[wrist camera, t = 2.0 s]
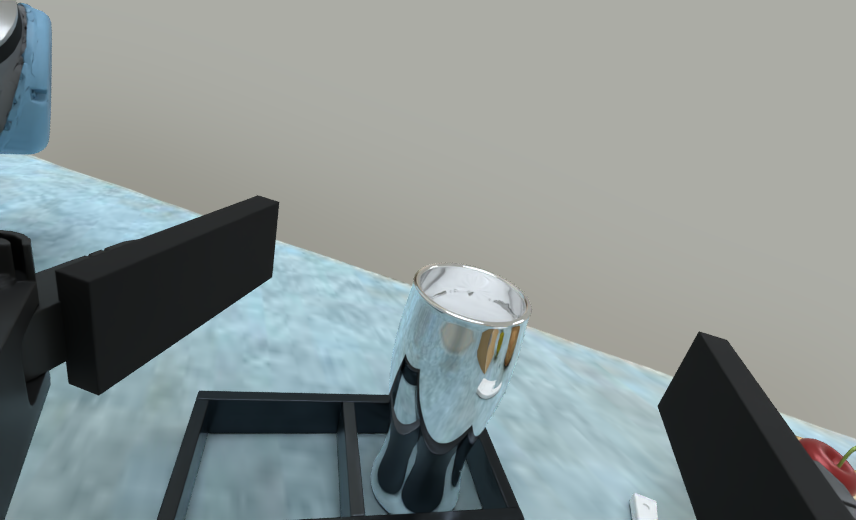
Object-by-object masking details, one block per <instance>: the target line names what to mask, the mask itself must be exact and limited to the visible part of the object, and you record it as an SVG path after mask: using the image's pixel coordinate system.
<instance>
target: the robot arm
mask: <svg viewBox="0 0 856 520" xmlns="http://www.w3.org/2000/svg"><path fill="white" fill-rule="evenodd" d="M51 53H52V30H51V21H50V18H49V17H48V16H47V15H46V14H45V13H44V12H42V11H40V10H37V9H34V8H32V7H31V6H30V5H28V4H24V3H18V4H17V2H16V0H0V154H35V153H38V152H40V151H42V150H43V149H44V148H45V147H46V146H47V144H48V142H49V135H50V116H51V72H52V69H51V68H52V67H51V66H52V65H51V62H52V54H51ZM278 209H279V202H277V201H274V200H271V199H268V198H265V197H261V196H255V197H252V198H250V199H247V200H245V201H242V202H239V203H236V204H233V205H231V206H228V207H225V208H223V209H220V210H217V211H214V212H212V213H209V214H206V215H203V216H201V217H198V218H195V219H193V220H190V221H187V222H184V223H182V224H179V225H176V226H174V227H171V228H168V229H165V230H163V231H160V232H157V233H155V234H152V235H149V236H146V237H144V238H141V239H137V240H131V241H124V242H121V243H118V244H116V245H113V246H110V247H107V248H105V250H104V251H103V250H99V251H96V252H93V253H91V254H89V256H82V257H80V258H77V259H74V260H71V261H69V262H66V263H63V264H60V265H57V266H55V267H52V268H49V269H46V270H44V271H41V272H38V273H35V268H34V261H33V254H32V247H31V240H30V238H28V237H27V236H25V235H24V234H20V233H17V232H13V231H4V230H0V520H5V517H6V514H7V511H8V508H9V505H10V502H11V499H12V496H13V493H14V490H15V487H16V484H17V482H18V479H19V476H20V473H21V470H22V467H23V464H24V461H25V458H26V455H27V452H28V449H29V446H30V443H31V440H32V437H33V434H34V431H35V429H36V426H37V423H38V420H39V417H40V414H41V411H42V408H43V405H44V402H45V399H46V396H47V393H48V390H49V387H50V373H49V370H51V369H53V368H54V367H56V366H58V365H60V364H61V363H63V362H65V361H66V365H67V373H68V382H69V384H71V385H74V386H76V387H79V388H81V389H84V390H86V391H89V392H91V393H94V394H96V395H100V394H102V393H103V392H105V391H106V390H108V389H109V388H110V387H112V386H113V385H115V384H116V383H118V382H119V381H121V380H122V379H124V378H125V377H127V376H128V375H130V374H131V373H132V372H134V371H135V370H137V369H138V368H140V367H141V366H143V365H144V364H146V363H147V362H149V361H150V360H151V359H153V358H154V357H156V356H157V355H159V354H160V353H162V352H163V351H165V350H166V349H168V348H169V347H171V346H172V345H173V344H175V343H176V342H178V341H179V340H181V339H182V338H184V337H185V336H187V335H188V334H190V333H191V332H192V331H194V330H195V329H197V328H198V327H200V326H201V325H203V324H204V323H206V322H207V321H209V320H210V319H211V318H213V317H214V316H216V315H217V314H219V313H220V312H222V311H223V310H225V309H226V308H228V307H229V306H231V305H232V304H233V303H235V302H236V301H238V300H239V299H241V298H242V297H244V296H245V295H247V294H248V293H250V292H251V291H252V290H254V289H255V288H257V287H258V286H260V285H261V284H263V283H264V282H266V281H267V280H269V279H270V278H272V273H273V262H274V252H275V241H276V230H277V219H278ZM658 409H659V412H660V415H661V417H662V420H663V423H664V426H665V429H666V432H667V435H668V438H669V441H670V443H671V446H672V449H673V452H674V455H675V458H676V461H677V464H678V467H679V469H680V472H681V475H682V478H683V481H684V484H685V487H686V490H687V493H688V496H689V498H690V501H691V504H692V507H693V510H694V513H695V516H696V519H697V520H856V500H855V499H854V498H853V496H852V495H851V494H850V492H849V491H848V490H847V488H846V487H845V486H844V484H843V483H841V482H840V481H839V480H838V479H837V478H836V477H835V476H834V475H833V474H832V473H831V472H829V471H828V470H827V469H826V468H825V467H824V466H823V465H822V464H821V463H820V462H818V461H815V460H812V458H811V457H810V455H809V454H808V453H807V451H806V450H805V448H804V447H803V446H802V444H801V443H800V441H799V440H798V439H797V437H796V436H795V434H794V433H793V432H792V430H791V429H790V427H789V426H788V425H787V423H786V422H785V420H784V419H783V418H782V416H781V415H780V413H779V412H778V411H777V409H776V408H775V407H774V405H773V404H772V402H771V401H770V399H769V398H768V397H767V395H766V394H765V392H764V391H763V390H762V388H761V387H760V385H759V384H758V383H757V381H756V380H755V378H754V377H753V376H752V374H751V373H750V371H749V370H748V369H747V367H746V366H745V364H744V363H743V362H742V360H741V359H740V357H739V356H738V355H737V353H736V352H735V351H734V349H733V348H732V346H731V345H730V343H729V342H728V341H727V340H725V339H722V338H718V337H715V336H712V335H709V334H706V333H702V332H698V334H697V336H696V338H695V339H694V342H693V343H692V345H691V347H690V349H689V350H688V352H687V354H686V356H685V358H684V359H683V361H682V363H681V365H680V367H679V368H678V370H677V372H676V374H675V376H674V377H673V379H672V381H671V383H670V385H669V386H668V388H667V390H666V392H665V394H664V396H663V397H662V399H661V401H660V403H659V405H658Z"/></svg>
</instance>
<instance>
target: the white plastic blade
mask: <svg viewBox="0 0 856 520" xmlns="http://www.w3.org/2000/svg"><path fill="white" fill-rule="evenodd" d="M629 501H630V507H631V514H632V520H658V515H657V502H656V501H654V500H652V499H649V498H647V497H644V496H642V495H639V494H637V493H633V495H632V497H631V498H630V500H629Z"/></svg>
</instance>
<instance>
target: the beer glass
mask: <svg viewBox="0 0 856 520" xmlns="http://www.w3.org/2000/svg"><path fill="white" fill-rule="evenodd" d="M531 312H532V306H531V303H530V301H529V299H528V298H527V296H526V295H525V294H524V293H523V291H521V290H520V289H519V288H518V287H517V286H515V285H514V284H513V283H511V282H510V281H508V280H506V279H504V278H503V277H501V276H498V275H496V274H494V273H492V272H489V271H487V270H484V269H481V268H477V267H473V266H469V265H464V264H457V263H436V264H431V265H427V266H425V267H423V268H421V269H420V270H418V271H417V273H416V274H415V277H414V281H413V285H412V288H411V291H410V294H409V296H408V299H407V302H406V305H405V308H404V311H403V314H402V317H401V320H400V324H399V328H398V331H397V335H396V339H395V344H394V349H393V354H392V359H391V370H390V384H389V420H388V430H387V436H386V439H385V442H384V444H383V446H382V448H381V450H380V452H379V454H378V455H377V457H376V459H375V461H374V464H373V466H372V470H371V477H370V478H371V487H372V490H373V493H374V495H375V497H376V499H377V501H378V502H379V503H380V505H381V506H382V507H383V508H384V509H385V510H386V511H387V512H389V513H390V514H409V513H427V512H444V511H452V509H453V508H454V507H455V505H456V503H457V500H458V497H459V492H460V483H461V473H462V468H463V465H464V462H465V460H466V457H467V455H468V453H469V452H470V450H471V448H472V447H473V445H474V443H475V442H476V440H477V439H478V437H479V436H480V434H481V433H482V431H483V430H484V428H485V427H486V425H487V424H488V422H489V420H490V419H491V417H492V416H493V414H494V412H495V411H496V409H497V407H498V405H499V403H500V402H501V400H502V398H503V396H504V394H505V392H506V389H507V387H508V385H509V382H510V380H511V377H512V375H513V372H514V369H515V366H516V363H517V360H518V357H519V353H520V350H521V346H522V342H523V339H524V335H525V331H526V327H527V324H528V320H529V317H530V315H531Z"/></svg>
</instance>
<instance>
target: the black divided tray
mask: <svg viewBox="0 0 856 520" xmlns="http://www.w3.org/2000/svg"><path fill="white" fill-rule="evenodd" d="M388 420H389V395H365V394H321V393H276V392H231V391H199V392H198V395H197V398H196V401H195V404H194V407H193V411H192V414H191V417H190V420H189V423H188V426H187V429H186V432H185V435H184V438H183V441H182V444H181V447H180V450H179V453H178V456H177V459H176V462H175V465H174V468H173V472H172V475H171V478H170V481H169V484H168V487H167V490H166V493H165V496H164V499H163V502H162V505H161V508H160V511H159V514H158V517H157V520H185V517H186V514H187V510H188V506H189V502H190V499H191V495H192V491H193V488H194V484H195V480H196V477H197V473H198V469H199V465H200V462H201V458H202V454H203V451H204V447H205V443H206V440H207V436H208V433H337V448H338V469H339V490H340V510H341V517H337V518H319V519H301V520H524V517H523V514H522V512H521V510H520V508H519V505H518V503H517V501H516V498H515V496H514V494H513V491H512V489H511V486H510V484H509V482H508V479H507V477H506V475H505V472H504V470H503V467H502V465H501V463H500V460H499V458H498V456H497V453H496V451H495V449H494V446H493V444H492V441H491V439H490V437H489V434H488V432H487V430H486V427H485V428H484V430H483V431H482V433H481V434H480V436H479V437H478V439H477V440H476V442H475V443H474V445H473V447H472V448H471V450H470V452H469V453H468V455H467V457H466V460H467V463H468V466H469V469H470V472H471V475H472V478H473V480H474V483H475V486H476V489H477V492H478V495H479V498H480V501H481V504H482V506H483V509H480V510H462V511H444V512H427V513H409V514H391V515H373V516H365V509H364V499H363V489H362V479H361V468H360V458H359V448H358V438H357V433H387V430H388Z"/></svg>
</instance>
